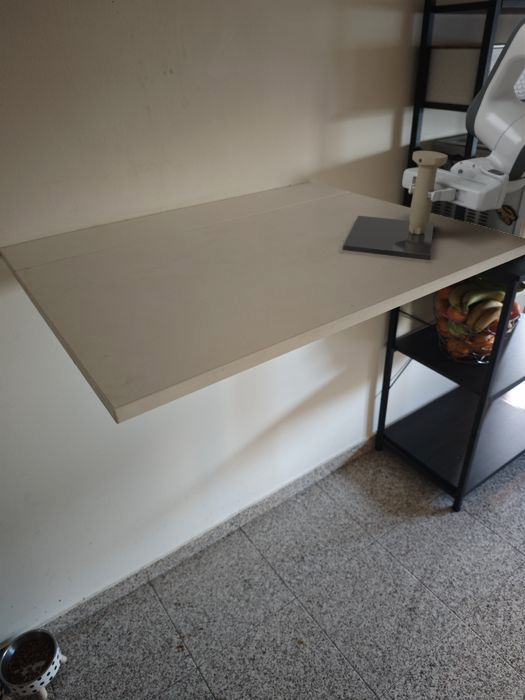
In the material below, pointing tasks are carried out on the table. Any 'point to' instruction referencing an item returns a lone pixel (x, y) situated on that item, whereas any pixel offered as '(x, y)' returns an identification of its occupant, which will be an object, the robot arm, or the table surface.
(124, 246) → the table surface
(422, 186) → the handle
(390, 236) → the dark grey square plate
